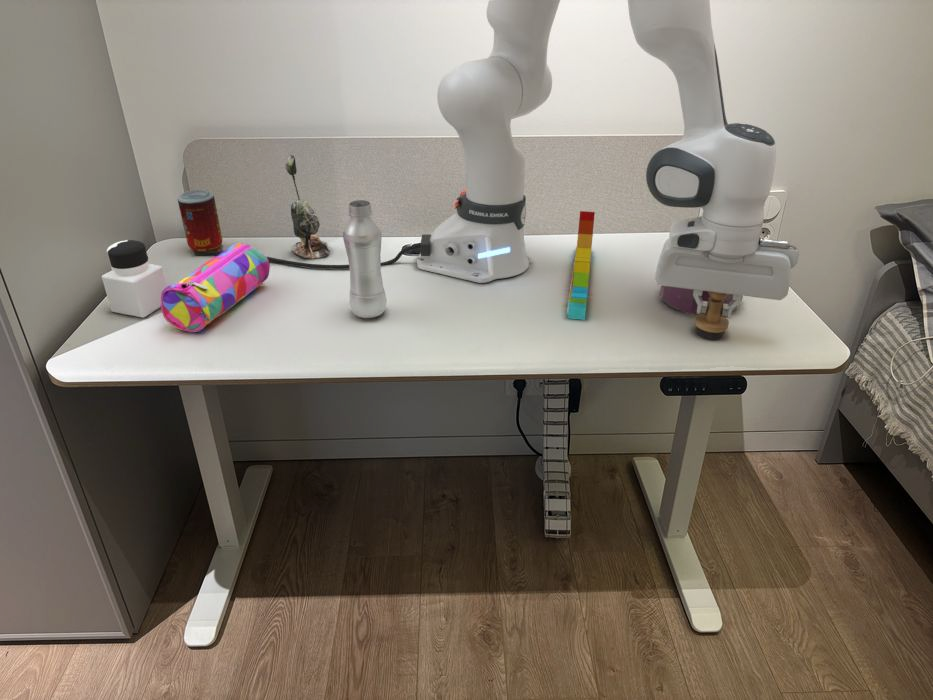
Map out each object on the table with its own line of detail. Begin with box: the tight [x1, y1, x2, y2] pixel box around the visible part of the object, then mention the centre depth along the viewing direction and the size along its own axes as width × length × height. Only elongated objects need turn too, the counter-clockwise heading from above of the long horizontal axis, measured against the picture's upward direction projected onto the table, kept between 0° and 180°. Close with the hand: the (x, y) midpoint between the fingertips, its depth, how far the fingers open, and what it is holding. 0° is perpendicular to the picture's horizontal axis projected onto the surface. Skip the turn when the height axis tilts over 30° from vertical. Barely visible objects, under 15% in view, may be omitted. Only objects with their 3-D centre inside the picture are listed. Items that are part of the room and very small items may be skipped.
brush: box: [694, 291, 730, 341], centre depth 114 cm, size 5×5×9 cm
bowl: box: [659, 285, 742, 316], centre depth 125 cm, size 14×14×6 cm
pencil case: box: [160, 242, 271, 333], centre depth 122 cm, size 22×9×9 cm, turn 163°
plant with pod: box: [285, 154, 331, 260], centre depth 140 cm, size 8×11×20 cm
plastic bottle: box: [342, 199, 388, 319], centre depth 117 cm, size 6×7×20 cm
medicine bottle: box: [101, 239, 168, 319], centre depth 122 cm, size 7×7×12 cm
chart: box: [566, 210, 596, 321], centre depth 129 cm, size 30×3×15 cm, turn 169°
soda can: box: [177, 189, 223, 256], centre depth 144 cm, size 7×7×12 cm
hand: (713, 314), depth 114 cm, fingers closed on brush, 2 cm apart
